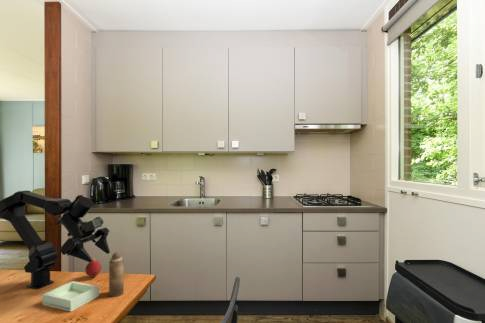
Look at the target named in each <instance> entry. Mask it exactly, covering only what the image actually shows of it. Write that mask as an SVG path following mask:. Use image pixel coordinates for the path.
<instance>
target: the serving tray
mask: <svg viewBox="0 0 485 323" xmlns="http://www.w3.org/2000/svg"><path fill="white" fill-rule="evenodd" d="M98 297H100V286H99V285H94V284H90V283H84V282H80V281H79V282H78V281H74V280H73V281H69V282H67V283H65V284H62V285H60V286H58V287H56V288H54V289H51V290H48V291H47V292H44V293H42V306H47V307H51V308H53V309H54V308H55V309H58V310H62V311H67V312H73V311H74V310H76V309H78V308H80V307H82V306H83V305H85V304H87V303H89V302H91V301H92V300H95V299H97V298H98Z"/></svg>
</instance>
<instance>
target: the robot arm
mask: <svg viewBox="0 0 485 323" xmlns="http://www.w3.org/2000/svg"><path fill="white" fill-rule="evenodd" d="M27 205H30V206H33V207H36V208H37V207H38V208H40V209H43V210H44V212H45V213H46V214H47V215H49V216H51V217H56V216H61V217H58V218H57V220H56V223H55V224H56V226H57V227H58V226H63V227H64V228H65V229H66V231H67V232H68V233H67V234H66V235H67V237H69V238H68V239H67V240H65V241H64V243H63V244H62V245H61V246H60V253H61V255H63V256H66V255H67V256H70V257H71V256H72V257H74V258H77V259H81V260H83V261H85V262H88V263H89V262H91V261H92V259H93V258H92V257H91V256H90V254H89V253H88V252H87V250H86V249H85V246H84V244H86V243H89V242H93V243H94V245H95V246H96V247H97V248H99V249H100V250H101V251H102V252H104V253H105V254H107V255H109V254H110V252H111V251H110V247H109V244H108V240H107V237H108V236H109V233H110V232H111V231H110V230H109V228H108V227H103V224H104V220H103V218H102V217H100V216H96V217H94V218H93V219H92V220H89V221H83V220H82V218H84V217H85V216H86V215H87V214H88V213H89V212H90V211H91V209H92V208H93V207H94V205H95V203H94V202H93V200H92V199H90V198H89V197H85V196H84V195H83V194H79V195H77V196H76V197H75V199H74V200H73V201H72V200H70V199H68V198H53V197H49V196H46V195H42V194H39V193H35V192H33V191H31V190H19V191H16V192H14V193H13V194H12V195H9V196H7V197H5V198H2V199H1V200H0V218H1V219H3V220H4V221H6V222H9V223H10V224H11V225H12V227H13V229H14V230H15V231H16V233H17V234H18V236H19V238H21V240H22V242H23V243H24V245H25V246H26V248H27V249H28V255H27V258H28V260H29V261H28V262H27V263H26V264H25V265H24V268H23V269H24V271H25V273H28V274H30V283H29V284H27V285H26V288H31V289H36V290H38V289H41V288H44V287H45V286H48V285H51V284H53V283H55V281H54V280H51V267H54V266H55V265H56V262H57V259H58V251H57V250H58V249H57V248H56V247H55V245H54V244H53V243H52V242H44V241H43V239H41V237H40V236H39V234H38V232H37V230H35V228H34V227H33V225H32V224H31V223H30V221H29V220H28V218H27V217H26V215H25V211H26V206H27ZM96 229H97V230H96Z"/></svg>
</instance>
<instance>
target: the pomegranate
mask: <svg viewBox="0 0 485 323" xmlns="http://www.w3.org/2000/svg"><path fill="white" fill-rule="evenodd" d="M91 259H92V261H91V262H88V263H87V264H86V267H85V274H86V276H88V277H90V278H96V277H97V275H99V274H100V272H101V270H102V264H101V263H100V262H99V261H97V260H96V258H95V257H94V258H91Z"/></svg>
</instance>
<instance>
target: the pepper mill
mask: <svg viewBox="0 0 485 323" xmlns="http://www.w3.org/2000/svg"><path fill="white" fill-rule="evenodd" d="M124 261H125V260H124V258H123V256H122V255H121V253H120V252H118V251H117V252H114V253H113V254H112V255H111V257H110V259H109V261H108V279H109V280H108V288H109V289H108V296H109V297H111V298H116V297H121V296H123V294H124V293H125V292H124V291H125V290H124V289H125V288H124V287H125V286H124V284H125V283H124V280H125V279H124V274H125V273H124V271H125V270H124V268H125V266H124Z"/></svg>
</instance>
